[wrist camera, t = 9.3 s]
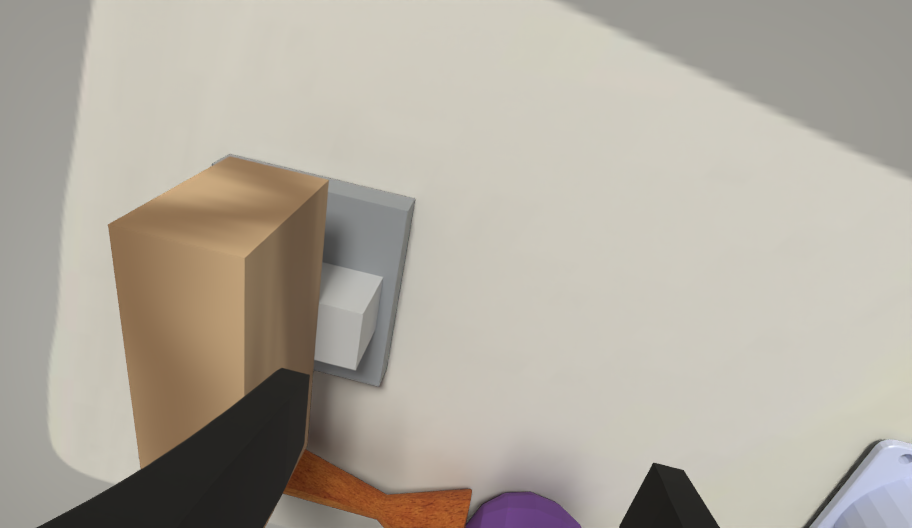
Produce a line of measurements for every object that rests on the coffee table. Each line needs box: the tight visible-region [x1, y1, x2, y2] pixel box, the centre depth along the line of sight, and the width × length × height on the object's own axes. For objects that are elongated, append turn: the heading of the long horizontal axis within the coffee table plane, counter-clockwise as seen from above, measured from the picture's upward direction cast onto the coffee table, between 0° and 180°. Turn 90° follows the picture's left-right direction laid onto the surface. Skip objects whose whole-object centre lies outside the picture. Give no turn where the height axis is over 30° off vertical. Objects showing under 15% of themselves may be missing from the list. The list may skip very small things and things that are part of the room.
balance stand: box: [212, 154, 415, 387], centre depth 20 cm, size 7×8×4 cm
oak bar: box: [108, 156, 329, 528], centre depth 16 cm, size 3×11×5 cm, turn 169°
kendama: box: [283, 449, 581, 528], centre depth 24 cm, size 6×6×20 cm
